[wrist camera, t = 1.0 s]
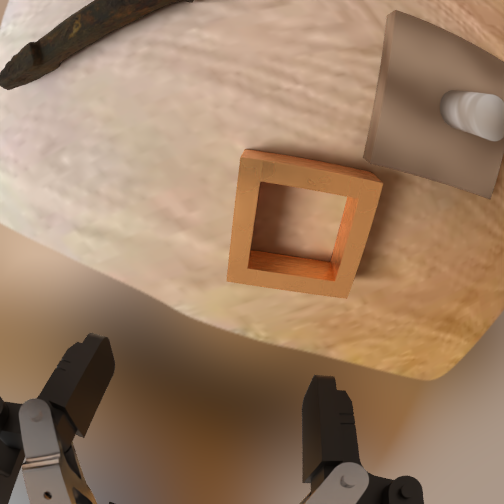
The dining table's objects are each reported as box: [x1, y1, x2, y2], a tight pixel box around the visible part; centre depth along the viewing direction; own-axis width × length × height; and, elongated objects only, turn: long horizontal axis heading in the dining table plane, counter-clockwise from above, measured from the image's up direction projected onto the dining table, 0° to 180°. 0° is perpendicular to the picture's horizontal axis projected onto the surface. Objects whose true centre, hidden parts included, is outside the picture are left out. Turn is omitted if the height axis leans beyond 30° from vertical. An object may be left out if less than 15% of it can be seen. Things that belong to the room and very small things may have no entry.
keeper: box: [363, 10, 504, 199], centre depth 16 cm, size 12×12×7 cm
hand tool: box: [0, 0, 194, 90], centre depth 16 cm, size 19×4×5 cm, turn 104°
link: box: [227, 149, 383, 299], centre depth 24 cm, size 10×10×3 cm
